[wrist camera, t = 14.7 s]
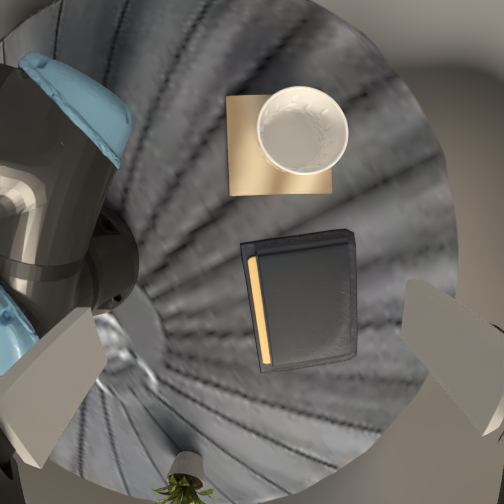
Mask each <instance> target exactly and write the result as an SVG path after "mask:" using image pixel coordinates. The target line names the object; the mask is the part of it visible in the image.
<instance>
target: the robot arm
mask: <svg viewBox="0 0 504 504" xmlns="http://www.w3.org/2000/svg"><path fill="white" fill-rule="evenodd" d="M17 65H18V66H19V67H18V68H15V67H12V66H8V65H5V64H2V63H0V375H2V376H1V377H0V504H26V503H25V499H24V496H23V491H22V487H21V482H20V477H19V472H18V466H17V463H16V460H15V459H14V458H13V456H12V455H13V454H14V452H15V451H16V452H17V453H18V454H19V455H20V457H21V458H22V459H23V461H24V462H25V463H27V464H30V465H32V466H35V467H37V468H42V467H43V465H44V463H45V461H46V460H47V458H48V456H49V455H50V453H51V451H52V449H53V448H54V446H55V444H56V443H57V441H58V439H59V438H60V436H61V434H62V433H63V431H64V429H65V428H66V426H67V424H68V423H69V421H70V420H71V418H72V416H73V415H74V413H75V412H76V410H77V408H78V407H79V405H80V404H81V402H82V400H83V399H84V397H85V396H86V394H87V393H88V391H89V390H90V388H91V386H92V385H93V383H94V382H95V380H96V379H97V377H98V376H99V374H100V373H101V371H102V370H103V368H104V367H105V365H106V364H107V360H106V357H105V354H104V351H103V348H102V345H101V342H100V339H99V335H98V332H97V329H96V325H95V322H94V319H93V316H95V315H99V314H103V313H107V312H109V311H111V310H113V309H115V308H116V307H118V306H119V305H120V304H121V303H122V302H123V301H124V300H125V299H126V298H127V297H128V296H129V294H130V293H131V291H132V290H133V288H134V286H135V283H136V281H137V277H138V271H139V257H138V251H137V247H136V243H135V241H134V238H133V236H132V234H131V232H130V230H129V229H128V227H127V226H126V224H125V223H124V222H123V220H122V219H121V218H120V217H119V216H118V215H116V214H115V213H114V212H113V211H111V210H109V209H108V208H106V207H103V206H102V205H103V202H104V200H105V197H106V195H107V192H108V190H109V187H110V185H111V182H112V180H113V177H114V175H115V173H116V170H117V169H119V168H120V165H121V162H120V159H121V157H122V154H123V151H124V148H125V146H126V143H127V141H128V139H129V136H130V134H131V131H132V128H133V116H132V113H131V111H130V109H129V107H128V106H127V105H126V104H125V103H124V102H123V101H122V100H121V99H120V98H119V97H118V96H116V95H115V94H114V93H112V92H111V91H110V90H108V89H107V88H105V87H104V86H102V85H101V84H100V83H98V82H96V81H95V80H93V79H92V78H90V77H88V76H87V75H85V74H83V73H82V72H80V71H78V70H76V69H74V68H73V67H71V66H69V65H67V64H65V63H62V62H60V61H58V60H53V59H52V58H49V57H47V56H45V55H43V54H41V53H37V52H29V53H27V54H26V55H25V56H24V57H23V58H22V59H20V60H19V62H18V64H17ZM400 339H401V340H402V341H403V342H404V343H405V344H406V345H407V347H408V348H409V349H410V350H411V351H412V352H413V353H414V354H415V356H416V357H417V358H418V359H419V360H420V361H421V363H422V364H423V365H424V366H425V367H426V368H427V370H428V371H429V372H430V373H431V374H432V375H433V376H434V378H435V379H436V380H437V381H438V382H439V384H440V385H441V386H442V387H443V388H444V390H445V391H446V392H447V393H448V394H449V396H450V397H451V398H452V399H453V400H454V402H455V403H456V404H457V405H458V407H459V408H460V409H461V410H462V411H463V413H464V414H465V415H466V417H467V418H468V419H469V420H470V422H471V423H472V424H473V426H474V427H475V428H476V429H477V431H478V432H479V433H480V434H481V436H484V435H486V434H488V433H490V432H491V431H493V430H495V429H497V428H498V427H499V426H500V424H501V422H502V420H503V418H504V331H503V330H502V329H500V328H499V327H497V326H496V325H493V324H491V323H488V322H487V321H485V320H484V319H482V318H481V317H480V316H478V315H477V314H475V313H474V312H472V311H471V310H470V309H468V308H467V307H465V306H464V305H462V304H461V303H459V302H458V301H456V300H455V299H453V298H452V297H450V296H449V295H447V294H446V293H444V292H443V291H441V290H439V289H438V288H436V287H435V286H433V285H432V284H430V283H429V282H427V281H425V280H424V279H422V278H418V279H411V280H407V282H406V294H405V304H404V313H403V321H402V328H401V336H400ZM503 439H504V432H503V433H502V435H501V437H500V438H499V441H498V444H501V442H502V440H503ZM497 504H504V469H503V475H502V482H501V488H500V493H499V498H498V503H497Z"/></svg>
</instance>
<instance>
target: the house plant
mask: <svg viewBox="0 0 504 504" xmlns="http://www.w3.org/2000/svg"><path fill="white" fill-rule="evenodd" d="M166 479H167V481H168V483H169V484H170V485H169V486H167V487H164V488H159V489H154V488H152V489H154V491H156V492H157V491H163V490H166V489H168V491H169V492H166V493H162V492H157V493H160V494H163V495H170V496H168V497H167V498H166V499H164V500H162V501H160V500H158V501H160V502H158V503H156V504H165V503H166V502H167V501H170V500H172V502H171V504H179V503H180V500H181V498H182V501H181V504H205V503H204V502H202V501H201V500H200V499H199V497H198V496H197V492H196V491H198V490H201V489H203V488H204V486H205V480H204V468H203V459H202V457H201V456H200V455H198V454H196V453H194V452H190V451H183V452H179V453H178V454H177V456H176V458H175V460H174V462H173V464H172V466H171V469H170V471H169V473H168V475H167V477H166ZM213 490H214V489H210V490H206V491H202V490H201V491H202V492H200V493H198V494H200V495H210V494H211V493H212V492H213ZM182 494H183V497H182ZM209 497H210V496H209ZM210 498H212V497H210ZM212 499H216V498H212ZM217 500H221V499H217ZM222 500H223V499H222Z"/></svg>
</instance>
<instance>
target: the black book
mask: <svg viewBox="0 0 504 504" xmlns="http://www.w3.org/2000/svg"><path fill="white" fill-rule="evenodd" d="M240 246H241V256H242V263H243V268H244V273H245V278H246V284H247V291H248V297H249V304H250V310H251V316H252V322H253V329H254V335H255V341H256V347H257V353H258V360H259V366H260V372H261V373H265V372H274V371H286V370H293V369H300V368H307V367H313V366H319V365H325V364H331V363H336V362H341V361H346V360H350V359H352V358H353V357H355V356H356V354H357V272H356V243H355V237H354V233H353V232H351V231H349V230H347V229H340V230H330V231H324V232H317V233H311V234H304V235H298V236H290V237H282V238H274V239H267V240H260V241H254V242H248V243H240Z"/></svg>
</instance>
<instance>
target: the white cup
mask: <svg viewBox="0 0 504 504" xmlns="http://www.w3.org/2000/svg"><path fill="white" fill-rule="evenodd" d="M257 139H258V145H259V148H260V151H261V153H262V155H263V157H264V158H265V159H266V161H267V162H268V163H269V164H270V165H271V166H272V167H275V168H276V169H278V170H281V171H284V172H287V173H293V174H299V175H311V174H317V173H320V172H323V171H325V170H327V169H329V168H330V167H332V166H333V165H334V164H335V163H336V162H337V161H338V160H339V159H340V157H341V156H342V154H343V153H344V151H345V148H346V145H347V141H348V125H347V121H346V118H345V116H344V113H343V111H342V110H341V108H340V107H339V105H338V104H337V103H336V102H335V101H334V100H333V99H332V98H331V97H330V96H328V95H327V94H325V93H324V92H322V91H320V90H317V89H315V88H311V87H306V86H293V87H288V88H285V89H282V90H280V91H278V92H276V93H275V94H273V95H272V96H271V97H270V98H269V99H268V100H267V101H266V102H265V103H264V105H263V106H262V108H261V110H260V112H259V115H258V119H257Z"/></svg>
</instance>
